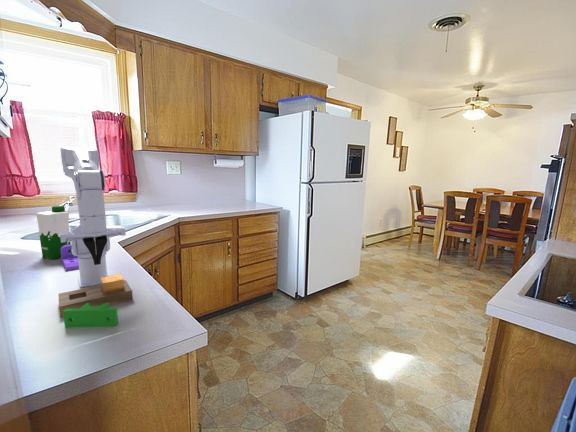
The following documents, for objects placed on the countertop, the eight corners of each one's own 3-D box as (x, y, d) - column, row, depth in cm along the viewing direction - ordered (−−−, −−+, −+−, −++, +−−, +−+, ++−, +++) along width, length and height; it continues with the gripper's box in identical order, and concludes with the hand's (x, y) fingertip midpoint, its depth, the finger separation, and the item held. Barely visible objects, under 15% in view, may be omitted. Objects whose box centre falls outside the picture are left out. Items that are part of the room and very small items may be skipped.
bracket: (62, 263, 108) (60, 245, 107) (83, 259, 113) (82, 242, 112) (66, 272, 100) (64, 253, 99) (89, 267, 105) (88, 249, 103)
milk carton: (76, 254, 118) (71, 206, 114) (50, 260, 109) (44, 209, 106) (63, 251, 121) (58, 205, 118) (38, 257, 113) (31, 207, 110)
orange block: (102, 296, 81) (100, 277, 80) (122, 292, 84) (120, 273, 83) (104, 303, 77) (102, 283, 76) (125, 298, 80) (123, 279, 79)
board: (59, 304, 77) (58, 293, 76) (126, 289, 87) (125, 280, 86) (60, 318, 70) (58, 306, 69) (132, 300, 80) (132, 290, 79)
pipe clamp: (123, 319, 71) (122, 302, 70) (116, 327, 67) (114, 309, 66) (74, 320, 69) (73, 302, 69) (64, 329, 66) (62, 310, 65)
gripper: (58, 220, 69) (64, 273, 71) (126, 215, 78) (129, 262, 80) (58, 215, 74) (63, 265, 76) (121, 211, 83) (124, 256, 85)
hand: (97, 263), depth 79 cm, fingers closed
